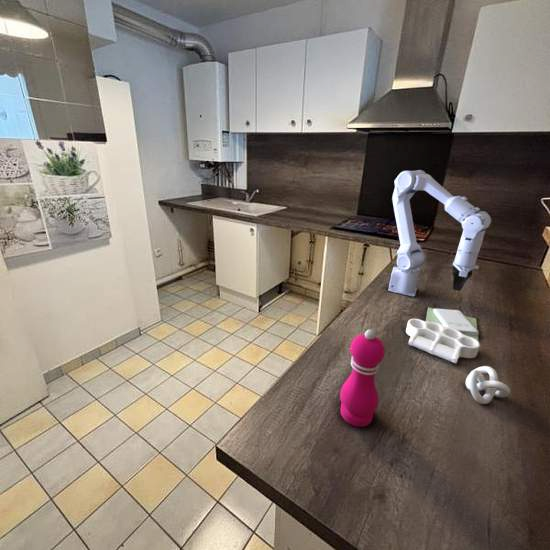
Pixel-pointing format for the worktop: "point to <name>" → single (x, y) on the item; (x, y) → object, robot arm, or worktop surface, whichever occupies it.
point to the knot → (486, 385)
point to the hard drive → (455, 321)
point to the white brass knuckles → (441, 340)
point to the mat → (433, 318)
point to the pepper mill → (362, 380)
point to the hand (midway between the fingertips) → (456, 289)
